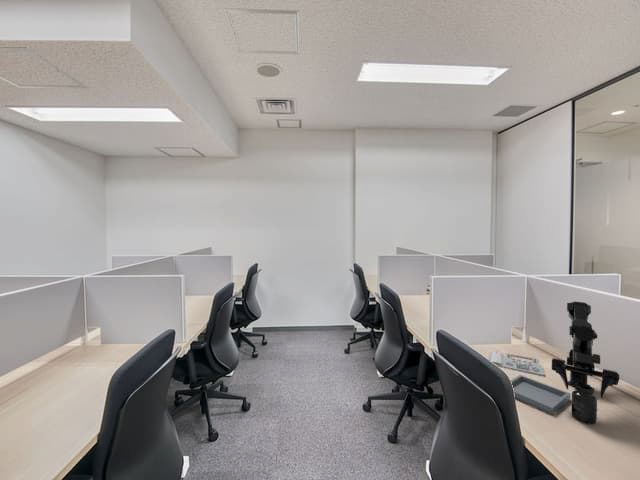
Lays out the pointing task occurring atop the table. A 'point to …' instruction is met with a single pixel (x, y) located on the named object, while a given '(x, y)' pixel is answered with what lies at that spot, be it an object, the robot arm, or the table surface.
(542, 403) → the tray
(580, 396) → the supplement bottle
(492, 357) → the office telephone
